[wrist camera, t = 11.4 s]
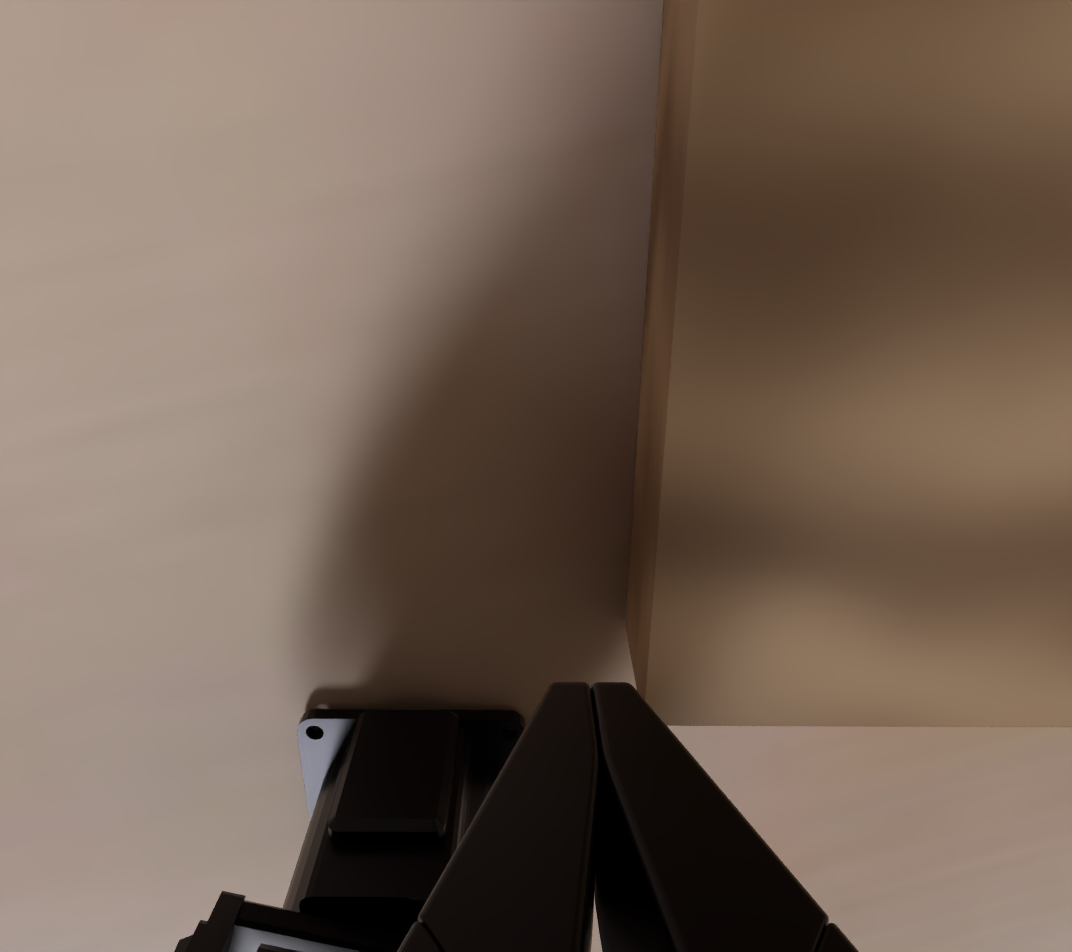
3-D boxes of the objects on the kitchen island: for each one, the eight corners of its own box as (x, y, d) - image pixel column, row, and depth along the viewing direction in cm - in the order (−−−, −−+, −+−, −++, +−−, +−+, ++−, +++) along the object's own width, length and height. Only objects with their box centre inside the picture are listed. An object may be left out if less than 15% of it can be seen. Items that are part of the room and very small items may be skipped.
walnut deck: (1131, 629, 23) (1247, 727, 19) (625, 626, 22) (643, 725, 19) (1528, -474, 14) (1890, -688, 10) (693, -482, 14) (751, -703, 10)
